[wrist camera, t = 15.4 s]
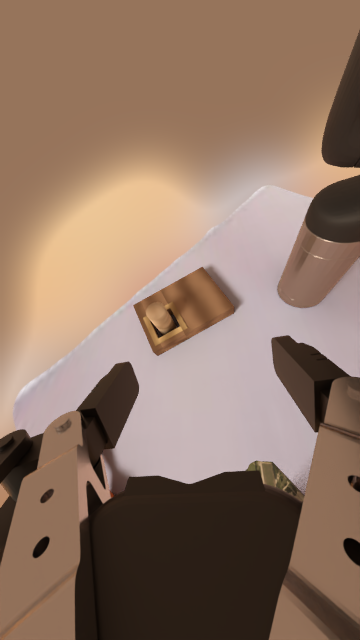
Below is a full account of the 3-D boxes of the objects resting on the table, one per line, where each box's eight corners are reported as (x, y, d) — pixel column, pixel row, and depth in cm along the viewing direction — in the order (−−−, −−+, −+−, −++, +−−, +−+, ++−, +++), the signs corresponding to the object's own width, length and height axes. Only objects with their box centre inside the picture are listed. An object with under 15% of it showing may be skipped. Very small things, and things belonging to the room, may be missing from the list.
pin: (172, 318, 45) (160, 298, 37) (178, 330, 43) (168, 313, 35) (157, 326, 45) (143, 308, 37) (164, 339, 43) (150, 323, 35)
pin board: (203, 274, 49) (202, 266, 46) (233, 313, 42) (234, 306, 39) (138, 310, 48) (132, 304, 46) (157, 355, 42) (152, 351, 39)
